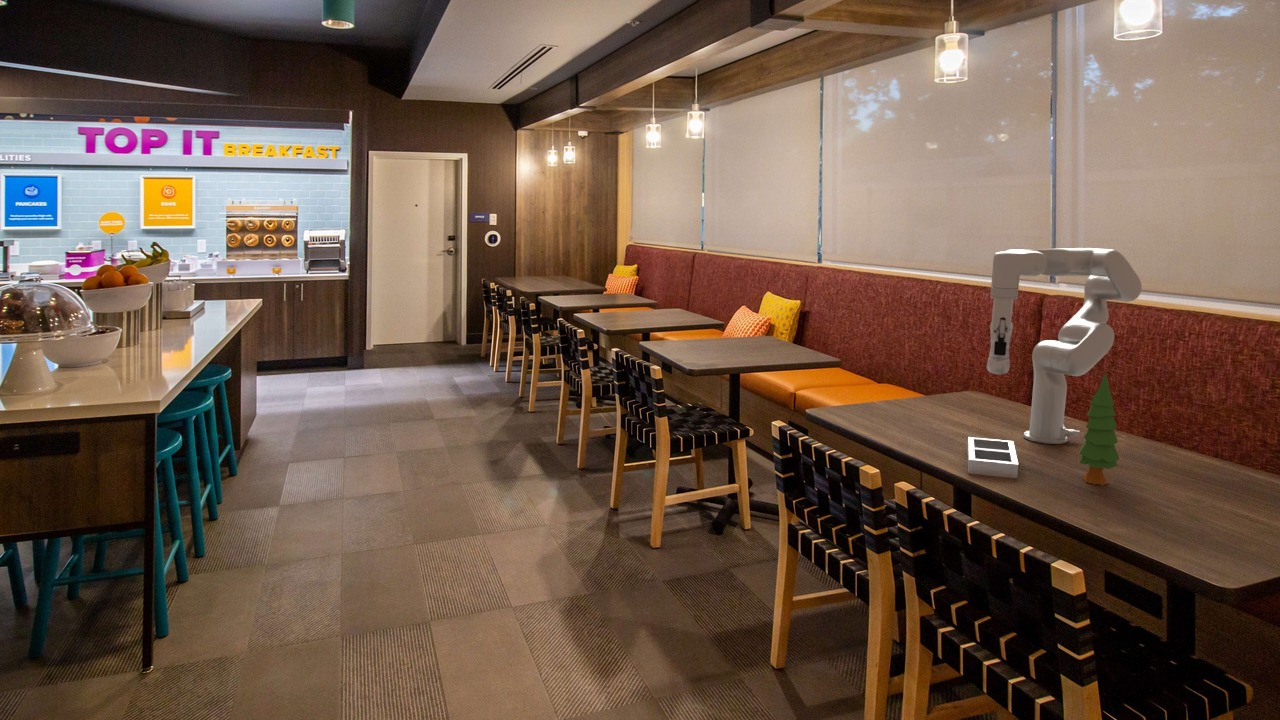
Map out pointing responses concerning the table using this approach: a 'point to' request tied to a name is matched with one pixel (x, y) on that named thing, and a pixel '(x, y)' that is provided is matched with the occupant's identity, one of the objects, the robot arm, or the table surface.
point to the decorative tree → (1100, 436)
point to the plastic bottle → (999, 362)
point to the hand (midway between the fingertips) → (999, 352)
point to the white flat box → (992, 457)
